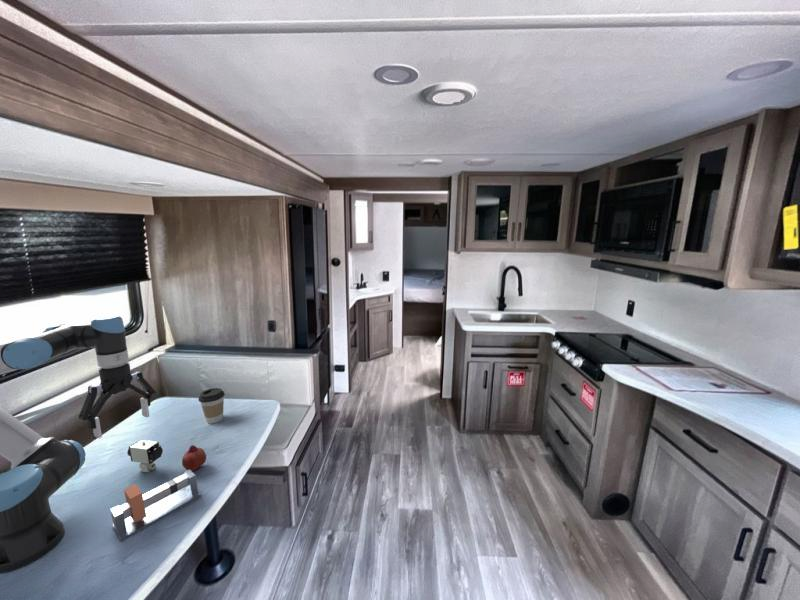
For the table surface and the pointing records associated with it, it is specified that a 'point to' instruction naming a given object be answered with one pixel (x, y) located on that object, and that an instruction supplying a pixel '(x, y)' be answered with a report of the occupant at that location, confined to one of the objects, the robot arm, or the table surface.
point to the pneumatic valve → (145, 454)
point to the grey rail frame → (156, 505)
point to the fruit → (193, 458)
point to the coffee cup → (212, 404)
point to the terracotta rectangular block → (135, 502)
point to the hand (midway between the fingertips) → (123, 425)
